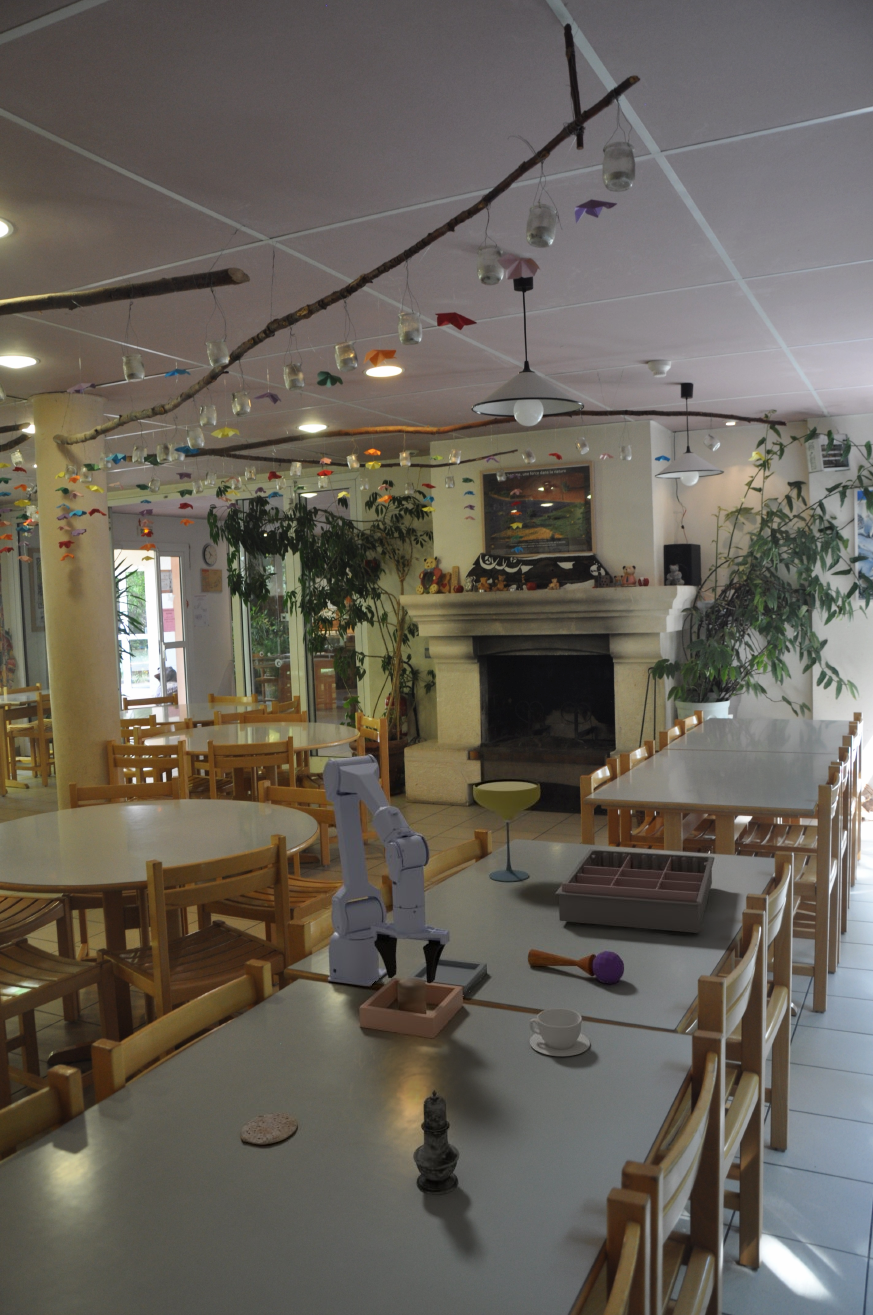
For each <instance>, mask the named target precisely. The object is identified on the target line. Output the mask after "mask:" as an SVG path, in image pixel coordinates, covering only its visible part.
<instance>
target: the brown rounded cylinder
mask: <svg viewBox="0 0 873 1315" xmlns="http://www.w3.org/2000/svg"><path fill="white" fill-rule="evenodd" d="M402 979H403V980H401V981H399V982H398V999H397V1002H398V1003H397V1004H398V1005H397V1006H398V1008H397V1010H399V1011H406V1012H413V1013H420V1014H427V1003H426V984H425V981H424V980H422V979H419V978H408V977H407V978H402Z"/></svg>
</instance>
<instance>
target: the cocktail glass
mask: <svg viewBox="0 0 873 1315" xmlns="http://www.w3.org/2000/svg"><path fill="white" fill-rule="evenodd" d="M472 794H473V796H472V797H473V799H474V800H475V802H477V804H478V805H480V806H481V807H483V808H485V809H487V810H489V811H491V812H494V813H495V814H496V815H498V816H499V817H500V819H501V820H503V822H505V823H506V868H505V869H500V870H495V871H492V872H491V873H489V874H488V876H489V878H490V879H491V880H493V881H497V882H501V883H502V882H505V883H512V882H513V883H515V882H521V881H525V880H527V879H528V878H530V874H529V873H528V872H526V871H523V870H519V869H512V863H511V855H510V854H511V853H510V851H511V850H510V849H511V848H510V827H509V826H510V824H509V823H510V822H512V820H513V819H514V818H515V817H516V816H517V815H518V814H519V813H520V812H523V811H524V810H527V809H528V808H530V807H532V806H533V805H535V804H536V802H538V801H539V799H540V798H541V786H540V783H539V782H537V781H535V780H530V779H523V778H522V779H521V778H520V779H519V778H496V779H495V778H494V779H487V780H482V781H478V782H476V783H474V785H473V789H472Z"/></svg>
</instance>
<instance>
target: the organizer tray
mask: <svg viewBox="0 0 873 1315" xmlns="http://www.w3.org/2000/svg"><path fill="white" fill-rule="evenodd" d="M714 861H715V856H709V855H707V856H706V855H692V854H691V855H690V854H677V853H676V854H675V853H659V852H657V853H654V852H640V851H625V850H623V851H622V850H608V849H607V850H605V849H589V850H588V852H586V854H585V855H584V856H583V858H582V859H581V860H580V861H579V862H578V864H576V866H575V867H574V869H573V870H572V871H571V873H570V874H568V877H567V878H566V879H565V880H564V882H562V883H561V885H560V887H559V888H558V889H557V891H556V892H555V895H557V896H558V906H559V907H558V909H559V910H558V911H559V913H558V914H559V922H568V923H569V922H570V923H579V924H594V925H604V926H613V927H628V928H639V929H640V928H641V929H650V930H660V931H661V930H662V931H672V932H673V931H674V932H685V933H694V934H696V933H698V934H699V933H700V929H701V925H702V921H703V918H704V914H705V911H706V907H707V903H708V899H709V896H710V893H711V892H710V891H711V888H712V885H713V876H712V874H713V873H712V871H713V870H712V868H713V866H714Z"/></svg>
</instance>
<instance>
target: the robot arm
mask: <svg viewBox="0 0 873 1315" xmlns="http://www.w3.org/2000/svg"><path fill="white" fill-rule="evenodd" d="M322 778H323V787H324V794H325V800H326V801H328V802H331V803H333V811H334V818H335V820H334V821H335V826H336V835H337V836H336V837H337V843H338V844H337V845H338V850H339V852H338V853H339V858H340V868H341V874H342V883H343V884H342V886H341V887H340V888H339V889H338V891H336V893H335V894H334V895H333V896H332V898H331V914H330V917H331V918H330V919H331V924H332V927H333V930H334V932H333V934H331V937H330V938H329V942H328V961H329V962H328V967H329V968H328V969H329V971H328V972H329V977H327V981H328V982H334V983H341V984H342V983H343V984H346V985H347V984H348V985H356V986H362V987H372V984H373V983H374V982H375V981H376V982H377V981H379V980H380V979H381V978H382V977H384V976H385V974H387V978H388V979H392V978H395V976H396V975H397V969H398V968H397V947H398V946H397V945H398V940H407V939H408V940H413V941H415V940H416V941H424V942H426V944H425V945H424V946H423V947H422V951H423V955H424V959H425V962H426V978H427V983H432V982H433V981H434V980H435V976H436V970H437V966H438V962H439V959H440V957H441V955H442V952H443V950H444V949H445V947H446V945H447V944H449V942H450V940H451V939H450V937H451V936H450V930H449V929H442V928H438V927H435V926H431V925H427V923H426V906H425V905H426V900H425V897H426V895H425V872H424V871H425V870H424V869H425V868H424V867H427V865H428V864H429V862H430V857H431V856H430V852H431V851H430V848H429V844H428V842H427V839H426V837H425V836H424V834H422V833H418V832H417V830H413V829H412V828H411V827H410V825H409V824H408V822H407V820H406V819H405V817H404V815H403V814H402V812H401V810H400V809H399V808H398V807H396V806H391V805H390V802H389V801H388V799H387V797H386V794H385V792H384V790H383V788H382V785H381V784H380V767H379V763H378V760H377V758H376V757H374V756H373V754H365V755H361V756H352V757H344V758H343V757H342V758H336V759H335V758H329V759H328V760H327V761H326V762H325V765H324V767H323V770H322ZM361 801H362V802H363V803H364V805H365V806H366V808H367V809H368V811H369V812H370V813H371V814H372V817H373V818H372V820H371V825H372V828H373V829H374V831H375V832H376V834H377V837H378V838H379V840H380V841H381V843H382V845H383V847H384V848H385V852H384V857H385V862H386V865H387V869H388V877H389V879H390V880H391V887H392V892H391V893H392V912H393V914H392V916H393V918H392V919H393V920H392V921H393V922H386V921H387V917H388V916H387V908H386V904H385V903H384V900H383V896H382V891H381V890H380V889H379V888H378V887H376V886H375V885H373V884H371V883H370V882H369V876H368V868H367V860H366V854H365V847H364V838H363V829H362V823H361V816H360V815H361V814H360V806H359V804H360V802H361ZM427 942H428V943H427ZM379 955H380V956H379ZM379 957H381V959H382V962H383V964H384V967H385V969H383V968H380V965H379ZM379 978H380V979H379ZM376 982H375V983H376ZM375 983H374V984H375Z"/></svg>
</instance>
